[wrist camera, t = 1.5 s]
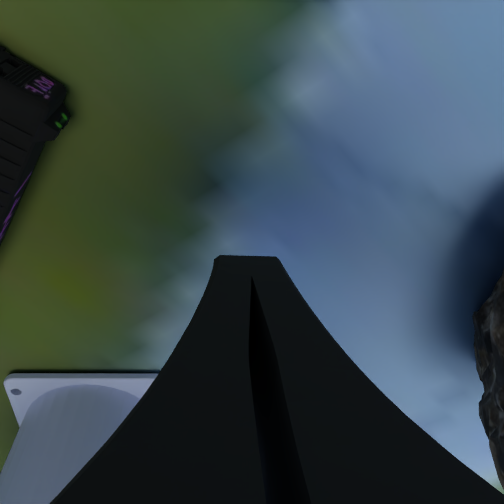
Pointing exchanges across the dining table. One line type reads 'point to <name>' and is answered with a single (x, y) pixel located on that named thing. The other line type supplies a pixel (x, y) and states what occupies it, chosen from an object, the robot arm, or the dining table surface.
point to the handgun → (24, 126)
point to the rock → (492, 371)
